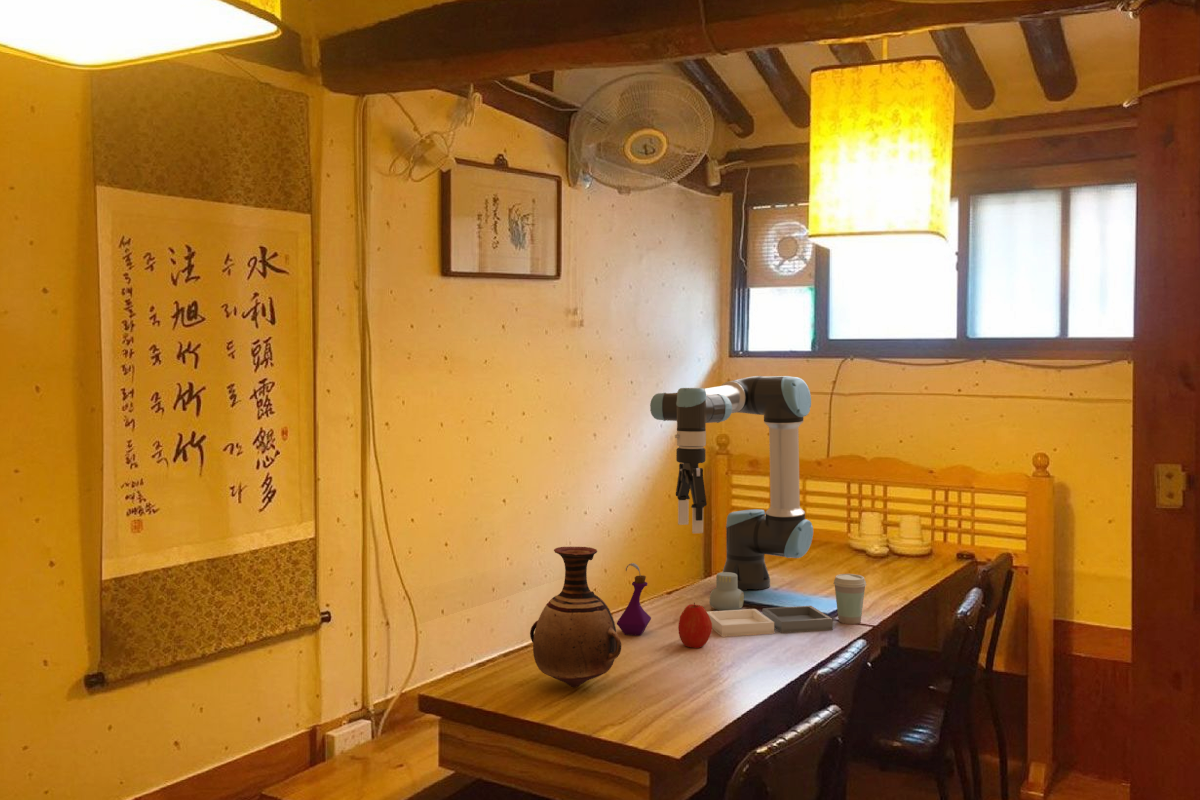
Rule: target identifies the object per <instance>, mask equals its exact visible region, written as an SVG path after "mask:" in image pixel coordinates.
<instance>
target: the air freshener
mask: <svg viewBox="0 0 1200 800" xmlns="http://www.w3.org/2000/svg"><path fill="white" fill-rule="evenodd" d="M715 581H716V587H715V588H713V589H712V590H711V592H710V594H709V595H710V596H709V605H710V607H711V608H713V609H715V611H725V610H742V607H743V606H744V602H745V594H744V591H743V590H740V589H738V577H737V574H736V573H731V572H723V571H721V572H717V574H716V579H715Z"/></svg>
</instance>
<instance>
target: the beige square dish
mask: <svg viewBox="0 0 1200 800" xmlns="http://www.w3.org/2000/svg"><path fill="white" fill-rule="evenodd" d="M706 612H707V613H708V615H709V617H710V619H711V622H712V630H714V632H715V633H717V634H718V635H719V636H721V637H723V638H724V637H725V638H726V637H736V636H737V637H739V636H740V637H742V636H753V635H754V636H755V635H756V636H757V635H770V634H771V635H773V634H775V628H774V622H773V621H772V620H770V619H769V618H768V617H766V616H765V615H763V614H762V612H760V611H759V610H758V609H756V608H748V609H739V610H725V611H719V610H713V611H711V610H709V611H706Z"/></svg>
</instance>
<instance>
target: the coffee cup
mask: <svg viewBox="0 0 1200 800" xmlns="http://www.w3.org/2000/svg"><path fill="white" fill-rule="evenodd" d="M833 585H834V590H835V592H834V593H835V599H836V600H835V601H836V609H837V611H836V612H837V619H838V622H839V623H842V624H846V625H847V624H848V625H857V624H860V623H861V622H862V615H863V607H864V598H865V590H866V587H867V582H866V579H865V577H864V576H863V575H861V574H855V573H840V574H837V575H835V578H834V580H833Z"/></svg>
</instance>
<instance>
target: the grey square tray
mask: <svg viewBox="0 0 1200 800" xmlns="http://www.w3.org/2000/svg"><path fill="white" fill-rule="evenodd" d="M761 613H762V614H763V615H765V616H766V617H768V618H769V619H770V620H772V621H773V622H774V630H775V629H776V631H778V632H780V634H785V633H786V634H787V633H789V634H790V633H802V632H803V633H804V632H820V631H833V627H834V626H833V625H834V623H833V622H834V620H833V618H832V617H830V616H829V615H828V614H826V613H824V612H822V611H821V610H819V609H817V608H815V607H814V606H813V605H798V606H783V607H782V606H781V607H779V606H778V607H766V608H764V607H763V608H762V612H761Z"/></svg>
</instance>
